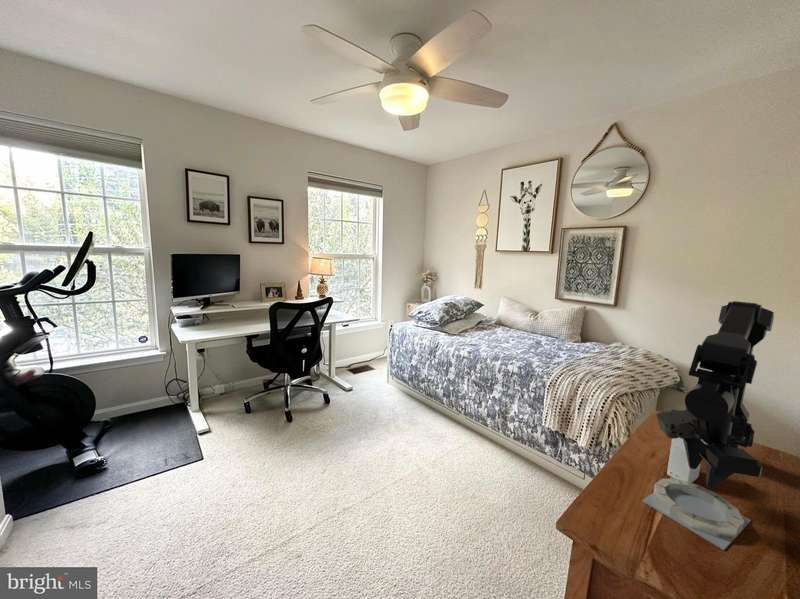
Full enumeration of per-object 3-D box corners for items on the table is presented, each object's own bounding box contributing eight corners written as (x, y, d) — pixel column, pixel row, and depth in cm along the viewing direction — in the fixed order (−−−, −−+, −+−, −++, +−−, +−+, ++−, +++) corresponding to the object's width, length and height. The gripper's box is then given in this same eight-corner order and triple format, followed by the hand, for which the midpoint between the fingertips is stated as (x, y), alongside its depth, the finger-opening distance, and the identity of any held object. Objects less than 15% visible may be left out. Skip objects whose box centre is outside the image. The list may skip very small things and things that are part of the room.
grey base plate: (672, 480, 76) (672, 479, 76) (750, 521, 65) (750, 519, 65) (641, 501, 69) (642, 500, 69) (723, 550, 58) (724, 549, 58)
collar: (671, 479, 76) (672, 472, 76) (750, 520, 65) (752, 512, 64) (642, 499, 70) (643, 490, 69) (725, 548, 58) (727, 538, 58)
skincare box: (688, 486, 75) (697, 437, 73) (665, 474, 78) (672, 427, 77) (699, 477, 78) (708, 430, 76) (676, 466, 82) (684, 421, 80)
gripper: (645, 381, 75) (636, 444, 77) (692, 421, 57) (678, 501, 59) (704, 389, 72) (692, 453, 74) (772, 433, 54) (754, 516, 56)
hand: (700, 477), depth 66 cm, fingers open, 5 cm apart
